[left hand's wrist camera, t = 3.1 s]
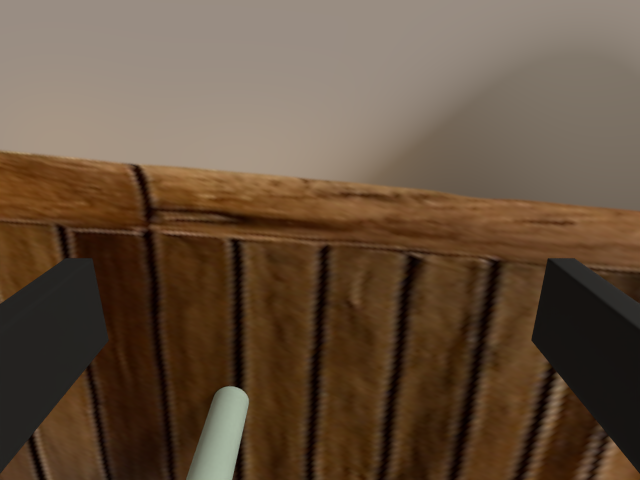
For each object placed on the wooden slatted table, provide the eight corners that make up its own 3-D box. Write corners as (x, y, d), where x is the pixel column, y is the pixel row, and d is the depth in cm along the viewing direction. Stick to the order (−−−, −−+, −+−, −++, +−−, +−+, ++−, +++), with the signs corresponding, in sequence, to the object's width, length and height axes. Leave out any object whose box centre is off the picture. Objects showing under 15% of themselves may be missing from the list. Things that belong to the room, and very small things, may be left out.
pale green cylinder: (216, 415, 49) (165, 579, 33) (211, 387, 48) (155, 544, 32) (251, 413, 49) (217, 577, 33) (246, 385, 48) (208, 541, 32)
